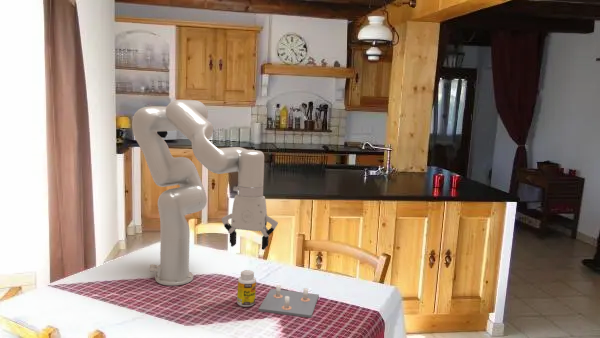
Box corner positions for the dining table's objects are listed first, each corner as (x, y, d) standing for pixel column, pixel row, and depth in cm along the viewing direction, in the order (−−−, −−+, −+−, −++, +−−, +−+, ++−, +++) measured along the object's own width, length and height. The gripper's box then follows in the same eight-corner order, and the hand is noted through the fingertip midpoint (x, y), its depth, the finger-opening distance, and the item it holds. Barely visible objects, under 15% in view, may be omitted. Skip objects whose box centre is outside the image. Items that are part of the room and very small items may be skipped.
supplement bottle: (242, 309, 150) (243, 276, 149) (234, 302, 155) (235, 270, 153) (258, 305, 153) (259, 273, 152) (249, 298, 158) (251, 267, 156)
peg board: (258, 311, 149) (259, 297, 149) (270, 291, 165) (271, 278, 164) (311, 317, 146) (311, 304, 146) (318, 296, 162) (319, 284, 161)
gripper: (218, 191, 146) (217, 247, 149) (275, 196, 144) (273, 253, 146) (226, 187, 154) (225, 240, 156) (281, 191, 151) (279, 246, 153)
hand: (248, 246), depth 151 cm, fingers open, 9 cm apart
